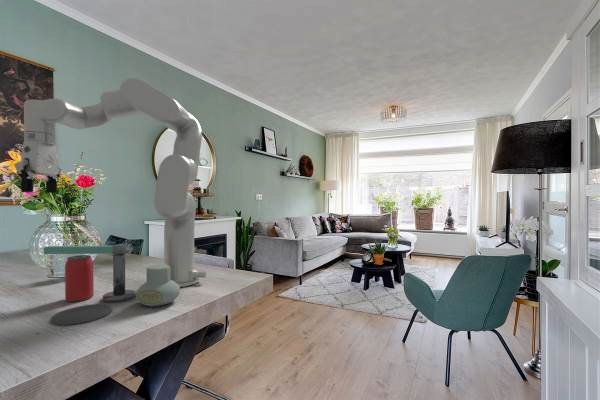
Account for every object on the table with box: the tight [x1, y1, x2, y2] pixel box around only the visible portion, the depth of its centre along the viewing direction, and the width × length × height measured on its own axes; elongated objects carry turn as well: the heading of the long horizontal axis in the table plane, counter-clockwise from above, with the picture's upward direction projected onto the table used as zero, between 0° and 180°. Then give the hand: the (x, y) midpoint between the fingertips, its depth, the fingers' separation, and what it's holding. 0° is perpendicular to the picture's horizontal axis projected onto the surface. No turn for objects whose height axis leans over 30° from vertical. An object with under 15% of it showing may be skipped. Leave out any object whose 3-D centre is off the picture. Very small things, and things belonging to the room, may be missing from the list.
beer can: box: [64, 254, 95, 303], centre depth 87 cm, size 7×7×12 cm
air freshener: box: [135, 264, 181, 308], centre depth 84 cm, size 11×8×10 cm
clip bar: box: [43, 243, 127, 255], centre depth 87 cm, size 22×3×2 cm, turn 93°
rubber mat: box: [50, 303, 113, 326], centre depth 75 cm, size 12×12×1 cm
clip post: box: [102, 253, 136, 304], centre depth 88 cm, size 8×8×13 cm
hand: (40, 192), depth 99 cm, fingers open, 9 cm apart
